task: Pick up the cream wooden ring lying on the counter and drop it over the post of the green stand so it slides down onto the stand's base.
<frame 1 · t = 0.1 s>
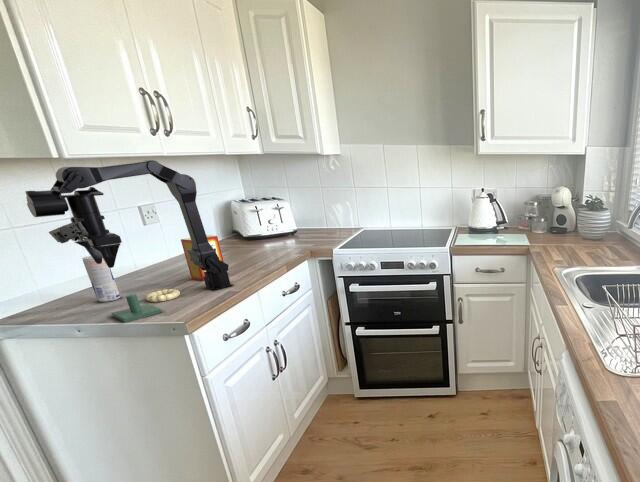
hand: (105, 265, 124), 15 cm above the counter, tool pointing down, fingers open, 9 cm apart
stand: (137, 314, 126), on the counter
baking soda box: (209, 277, 164), on the counter
ring: (163, 295, 140), point 1 cm above the counter
beverage can: (109, 300, 139), on the counter
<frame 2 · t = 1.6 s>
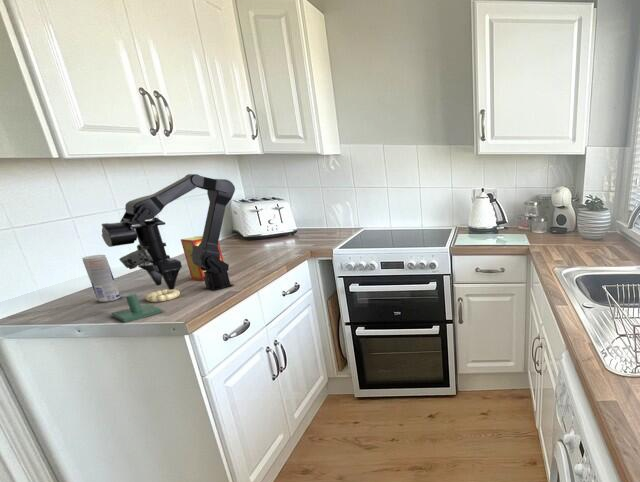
hand: (165, 287, 137), 4 cm above the counter, tool pointing down, fingers open, 9 cm apart
nothing on the counter moved.
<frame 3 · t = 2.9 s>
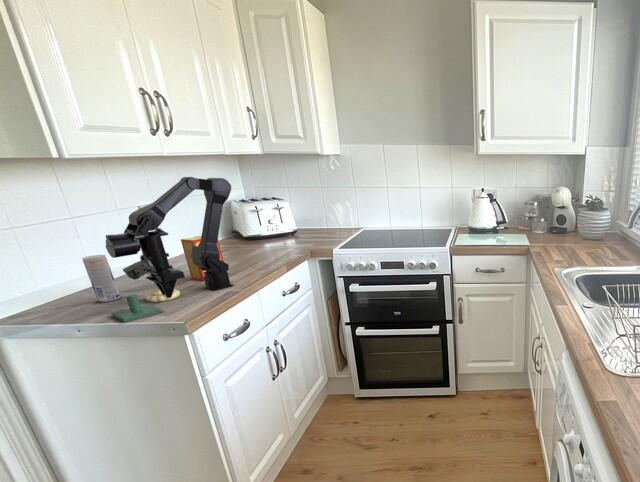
hand: (167, 297, 138), 1 cm above the counter, tool pointing down, fingers closed on ring, 2 cm apart
ring: (163, 295, 140), point 1 cm above the counter, touching gripper
everything else where it was.
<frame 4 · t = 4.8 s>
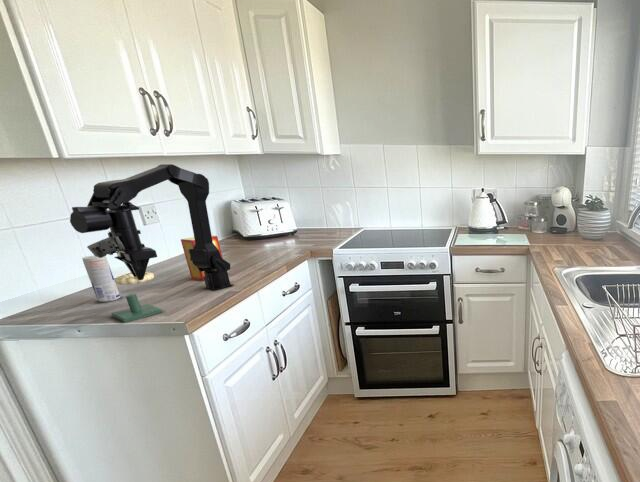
hand: (139, 279, 125), 10 cm above the counter, tool pointing down, fingers closed on ring
ring: (134, 278, 127), point 10 cm above the counter, touching gripper
everything else where it was.
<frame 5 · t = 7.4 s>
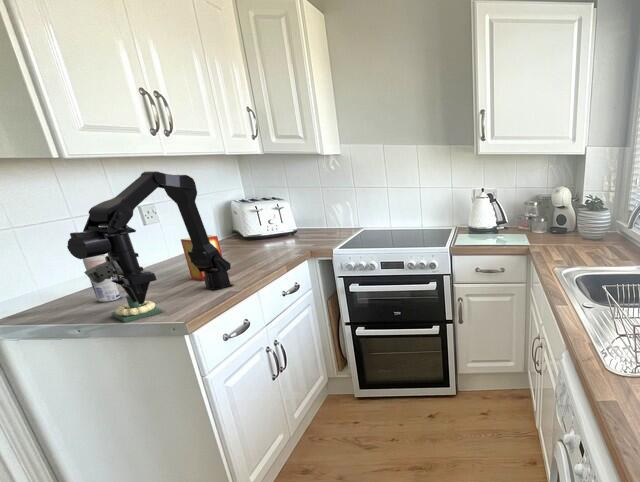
hand: (138, 302, 122), 5 cm above the counter, tool pointing down, fingers open, 4 cm apart
ring: (135, 308, 125), point 2 cm above the counter, touching stand
everything else where it was.
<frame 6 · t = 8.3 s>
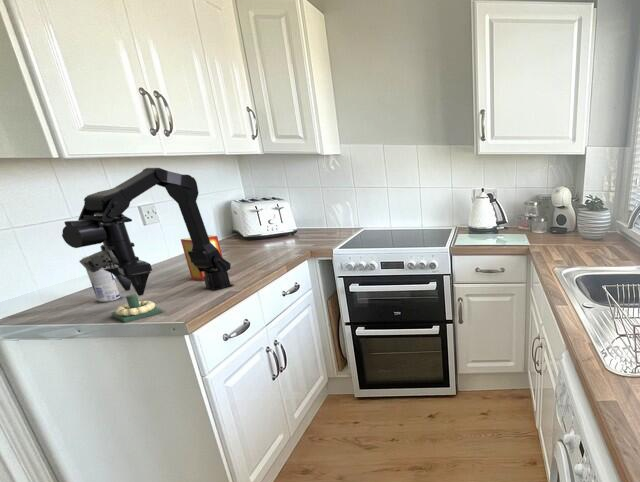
hand: (134, 292, 121), 8 cm above the counter, tool pointing down, fingers open, 9 cm apart
nothing on the counter moved.
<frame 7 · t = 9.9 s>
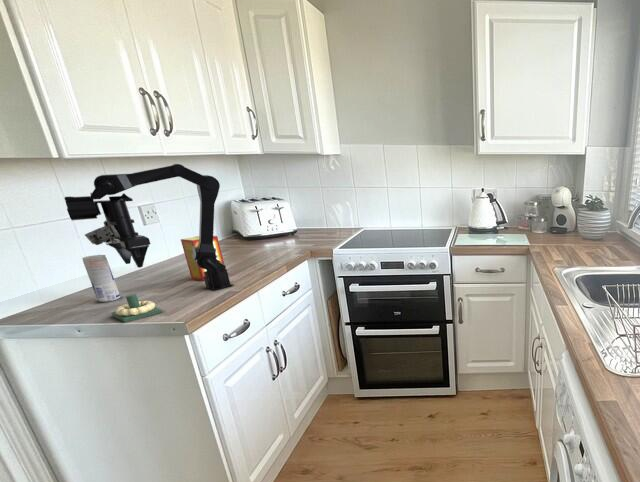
hand: (134, 265, 134), 12 cm above the counter, tool pointing down, fingers open, 9 cm apart
nothing on the counter moved.
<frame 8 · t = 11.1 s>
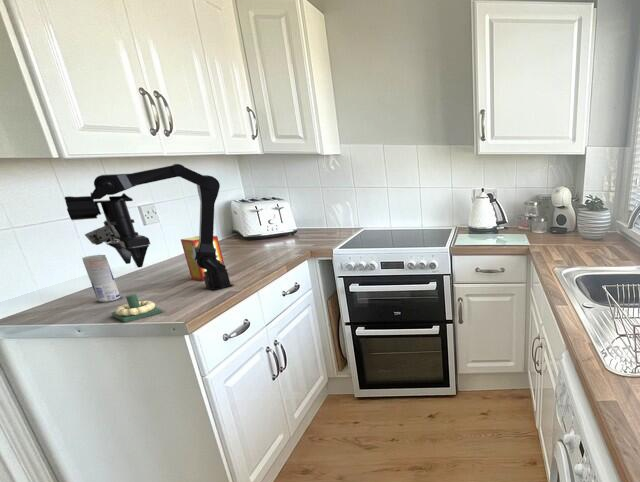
hand: (134, 265, 134), 12 cm above the counter, tool pointing down, fingers open, 9 cm apart
nothing on the counter moved.
at the end: ring 0.5 cm from the stand (horizontally); ring point 2.2 cm above the counter; the gripper is holding nothing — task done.
